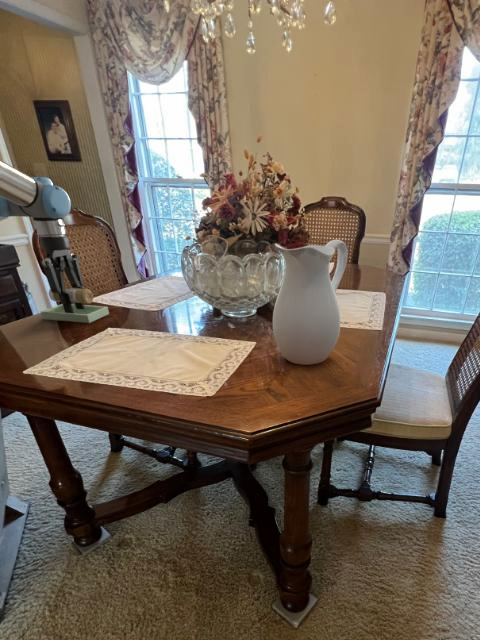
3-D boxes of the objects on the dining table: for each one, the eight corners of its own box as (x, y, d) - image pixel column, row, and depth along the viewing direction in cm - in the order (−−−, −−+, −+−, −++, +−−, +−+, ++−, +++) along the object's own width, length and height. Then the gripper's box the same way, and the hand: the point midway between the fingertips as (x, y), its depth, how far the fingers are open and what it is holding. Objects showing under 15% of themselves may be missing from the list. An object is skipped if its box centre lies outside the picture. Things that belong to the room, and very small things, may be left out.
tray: (42, 319, 125) (40, 311, 124) (65, 310, 134) (63, 303, 132) (89, 322, 122) (87, 315, 121) (109, 313, 130) (107, 306, 129)
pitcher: (308, 376, 89) (311, 250, 75) (260, 357, 98) (254, 242, 85) (366, 348, 104) (376, 239, 90) (319, 334, 114) (322, 233, 100)
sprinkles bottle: (92, 288, 124) (57, 286, 126) (82, 290, 120) (46, 288, 122) (95, 302, 126) (61, 299, 128) (85, 305, 122) (50, 302, 124)
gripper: (40, 239, 107) (65, 319, 119) (83, 232, 122) (102, 304, 133) (18, 238, 109) (45, 317, 120) (63, 232, 123) (83, 303, 135)
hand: (75, 310), depth 127 cm, fingers closed on sprinkles bottle, 4 cm apart
